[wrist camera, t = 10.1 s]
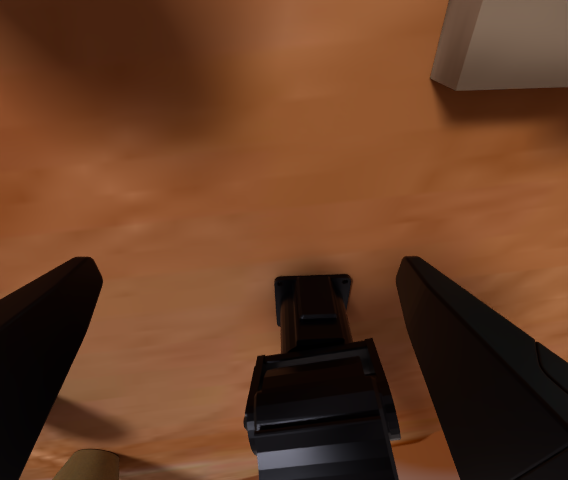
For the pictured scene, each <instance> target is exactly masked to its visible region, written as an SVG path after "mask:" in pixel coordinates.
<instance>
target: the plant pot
mask: <svg viewBox="0 0 568 480" xmlns="http://www.w3.org/2000/svg"><path fill="white" fill-rule="evenodd" d="M52 480H119V457H118V456H117V455H115V454H113V453H110V452H107V451H103V450H96V449H85V450H79V451H77V452H75V453H74V454H73V455H72V456H71V457H70V459H69V460H68V461H67V462H66V463H65V465H64V466H63V467H62V468H61V469H60V471H59V472H58V473H57V474H56V476H55V477H54V478H53V479H52Z"/></svg>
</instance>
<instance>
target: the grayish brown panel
mask: <svg viewBox="0 0 568 480" xmlns="http://www.w3.org/2000/svg"><path fill="white" fill-rule="evenodd" d="M430 78H431V79H433V80H435V81H437V82H439V83H441V84H443V85H445V86H447V87H449V88H451V89H453V90H455V91H466V90H495V89H524V88H553V87H568V0H449V3H448V7H447V11H446V15H445V19H444V23H443V27H442V31H441V35H440V39H439V43H438V48H437V52H436V56H435V60H434V64H433V68H432V72H431V76H430Z"/></svg>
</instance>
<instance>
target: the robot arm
mask: <svg viewBox="0 0 568 480" xmlns="http://www.w3.org/2000/svg"><path fill="white" fill-rule="evenodd" d="M343 280H344V281H343ZM279 282H282V283H279ZM102 284H103V279H102V275H101V273H100V271H99V269H98V267H97V265H96V263H95V261H94V260H93V259H92V258H91V257H74V258H72V259H70V260H69V261H67V262H65V263H63V264H62V265H60V266H58V267H56V268H55V269H53V270H51V271H49V272H48V273H46V274H44V275H42V276H41V277H39V278H37V279H35V280H34V281H32V282H30V283H28V284H27V285H25V286H23V287H21V288H20V289H18V290H16V291H14V292H13V293H11V294H9V295H7V296H6V297H4V298H2V299H0V480H19V478H20V476H21V474H22V471H23V469H24V467H25V465H26V463H27V461H28V458H29V456H30V454H31V452H32V450H33V448H34V445H35V443H36V441H37V439H38V437H39V435H40V432H41V430H42V428H43V426H44V424H45V422H46V419H47V417H48V415H49V413H50V411H51V409H52V406H53V404H54V402H55V400H56V398H57V396H58V393H59V391H60V389H61V387H62V385H63V383H64V380H65V378H66V376H67V374H68V372H69V370H70V367H71V365H72V363H73V361H74V359H75V357H76V354H77V352H78V350H79V348H80V346H81V344H82V341H83V339H84V337H85V334H86V332H87V329H88V327H89V324H90V321H91V318H92V315H93V312H94V309H95V306H96V303H97V300H98V297H99V294H100V291H101V288H102ZM350 285H351V279H350V276H349V275H346V274H340V275H311V276H283V277H277V278H275V281H274V286H275V301H276V316H277V325H278V326H280V327H281V354H275V355H269V356H265V355H261V356H258V357H257V361H256V366H255V367H254V371H253V376H252V381H251V386H250V390H249V395H248V400H247V405H246V410H245V417H244V427H245V429H246V430H247V431H248V438H249V442H250V446H251V449H252V451H253V453H254V454H255V455H256V456H257V459H258V469H259V480H399V479H398V475H397V470H396V466H395V461H394V457H393V453H392V448H391V444H390V440H391V441H392V440H400V439H401V437H400V429H399V424H398V419H397V415H396V410H395V406H394V403H393V399H392V395H391V392H390V388H389V385H388V382H387V379H386V376H385V373H384V370H383V368H382V365H381V362H380V359H379V356H378V353H377V350H376V347H375V344H374V342H373V339H372V338H369V339H365V341H358V342H353V340H352V336H351V331H350V327H349V322H348V318H347V314H346V310H347V303H348V297H349V291H350ZM396 285H397V290H398V294H399V298H400V303H401V307H402V311H403V315H404V320H405V324H406V328H407V331H408V334H409V337H410V340H411V343H412V346H413V348H414V351H415V354H416V357H417V360H418V362H419V365H420V368H421V371H422V374H423V376H424V379H425V382H426V385H427V388H428V390H429V393H430V396H431V399H432V402H433V404H434V407H435V410H436V413H437V416H438V418H439V421H440V424H441V427H442V430H443V432H444V435H445V438H446V441H447V444H448V446H449V449H450V452H451V455H452V458H453V460H454V463H455V466H456V469H457V472H458V474H459V477H460V480H568V362H566V361H565V360H563V359H562V358H560V357H559V356H557V355H556V354H555V353H553V352H552V351H550V350H549V349H548V348H546V347H545V346H543V345H542V344H541V343H539V342H535V339H533V338H532V337H531V336H529V335H528V334H526V333H525V332H524V331H522V330H521V329H519V328H518V327H517V326H515V325H514V324H512V323H511V322H510V321H508V320H507V319H505V318H504V317H503V316H501V315H500V314H498V313H497V312H496V311H494V310H493V309H491V308H490V307H489V306H487V305H486V304H484V303H483V302H482V301H480V300H479V299H477V298H476V297H475V296H473V295H472V294H470V293H469V292H468V291H466V290H465V289H463V288H462V287H461V286H459V285H458V284H457V283H455V282H454V281H452V280H451V279H450V278H448V277H447V276H445V275H444V274H443V273H441V272H440V271H438V270H437V269H436V268H434V267H433V266H431V265H430V264H429V263H427V262H426V261H424V260H423V259H422V258H420V257H418V256H405V257H404V258H403V259H402V261H401V264H400V267H399V270H398V273H397V276H396Z"/></svg>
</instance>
